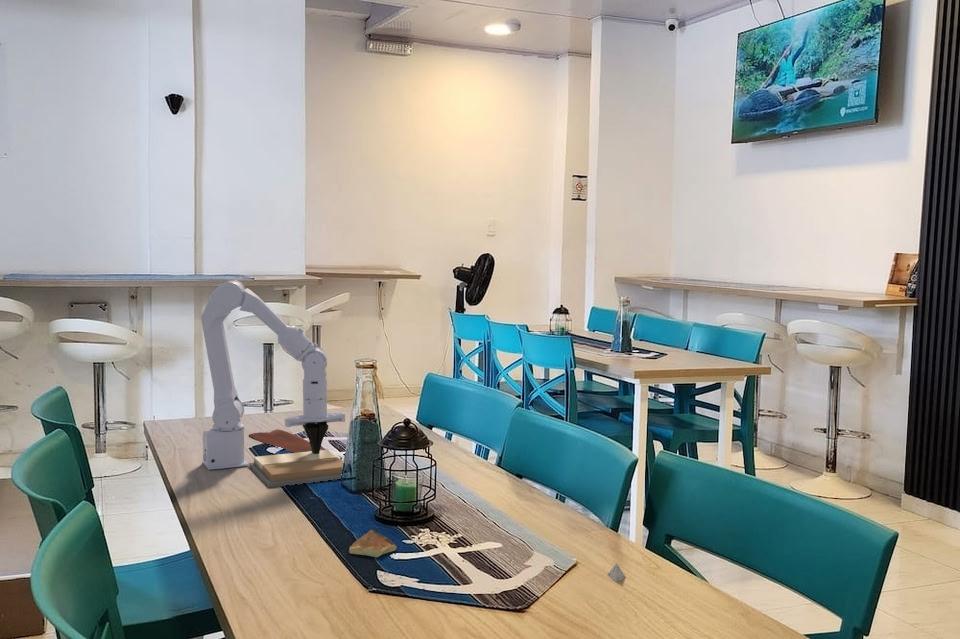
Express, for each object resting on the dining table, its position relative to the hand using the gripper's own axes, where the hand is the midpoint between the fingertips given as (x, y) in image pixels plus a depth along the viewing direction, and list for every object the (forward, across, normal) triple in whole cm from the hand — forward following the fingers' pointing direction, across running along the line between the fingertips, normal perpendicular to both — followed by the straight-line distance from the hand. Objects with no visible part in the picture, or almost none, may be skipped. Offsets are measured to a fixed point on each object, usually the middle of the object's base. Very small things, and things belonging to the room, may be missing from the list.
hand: (315, 452), depth 215 cm
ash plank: (+1, -6, -2) cm, 6 cm away
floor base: (+2, -6, -6) cm, 9 cm away
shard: (+3, -9, -59) cm, 60 cm away
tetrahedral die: (+4, +24, -90) cm, 93 cm away
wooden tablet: (+3, -1, +23) cm, 23 cm away
